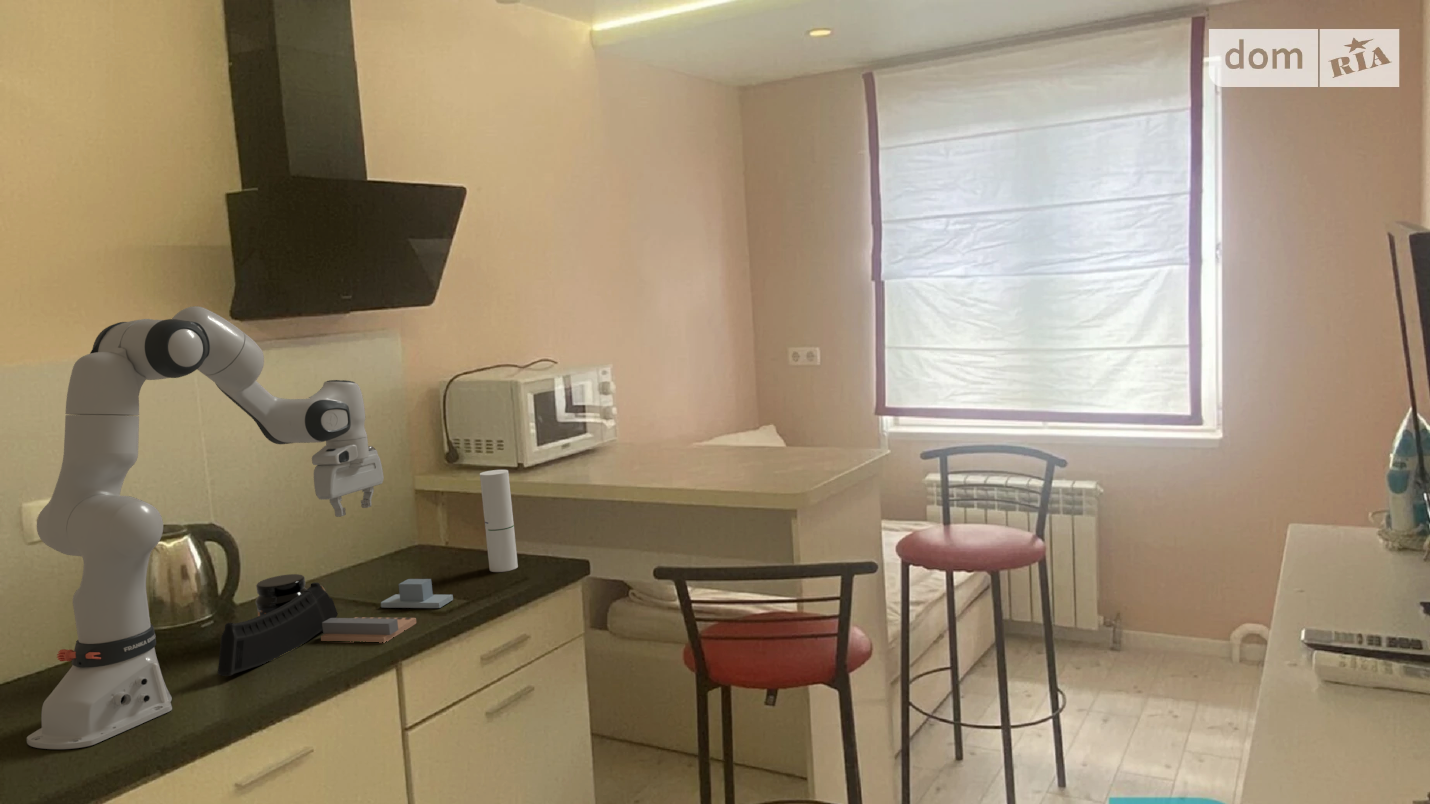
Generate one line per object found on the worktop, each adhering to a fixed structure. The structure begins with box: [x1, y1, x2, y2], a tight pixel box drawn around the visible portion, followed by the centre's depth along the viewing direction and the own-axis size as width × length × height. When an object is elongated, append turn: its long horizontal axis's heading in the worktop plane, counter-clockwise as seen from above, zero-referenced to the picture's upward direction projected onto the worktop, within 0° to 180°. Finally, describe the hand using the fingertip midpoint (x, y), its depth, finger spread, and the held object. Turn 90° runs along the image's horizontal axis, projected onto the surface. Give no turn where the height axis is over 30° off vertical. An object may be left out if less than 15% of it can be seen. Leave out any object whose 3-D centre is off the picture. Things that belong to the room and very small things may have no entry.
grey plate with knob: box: [380, 578, 454, 609], centre depth 227 cm, size 6×15×5 cm, turn 75°
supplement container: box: [255, 573, 308, 617], centre depth 212 cm, size 10×10×12 cm
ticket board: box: [320, 616, 417, 644], centre depth 209 cm, size 12×16×4 cm
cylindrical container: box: [479, 469, 519, 573], centre depth 252 cm, size 7×7×25 cm
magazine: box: [217, 582, 339, 677], centre depth 200 cm, size 17×3×30 cm
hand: (353, 511), depth 224 cm, fingers open, 8 cm apart
